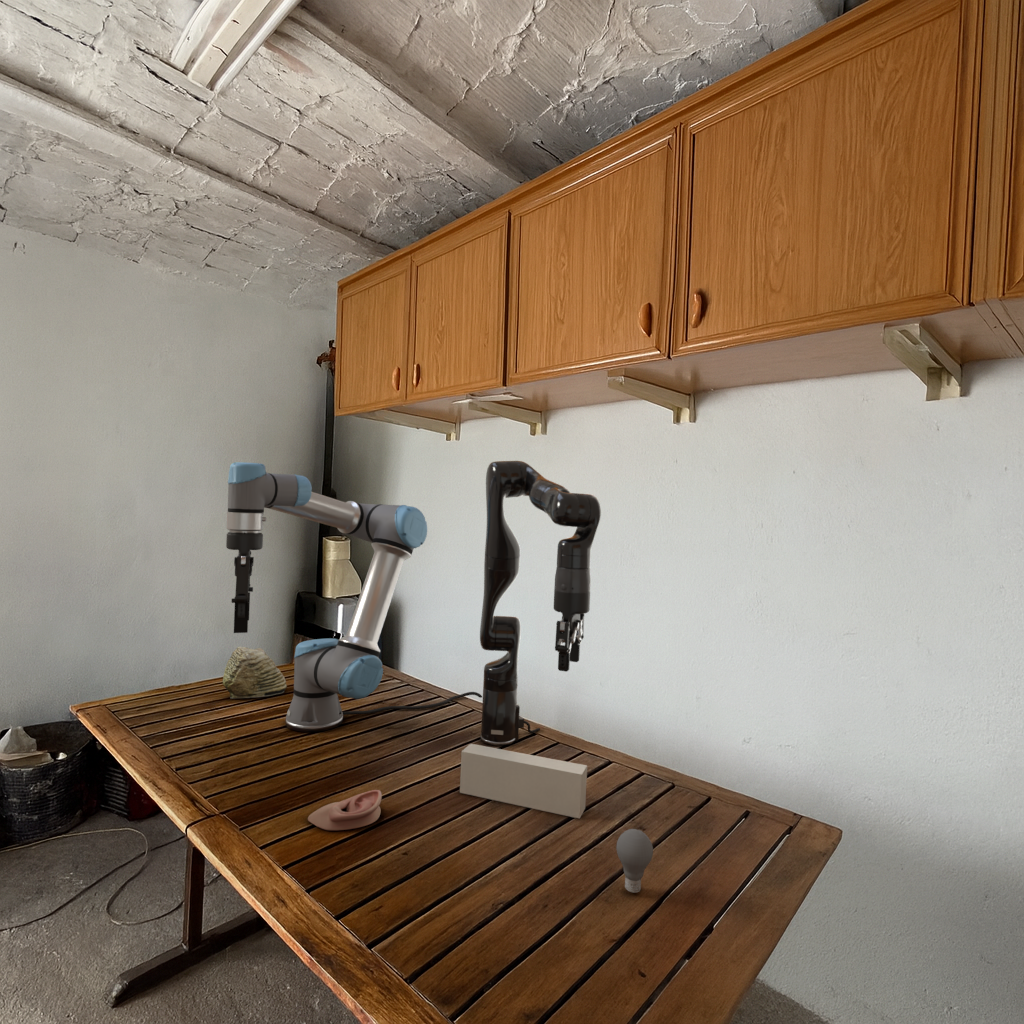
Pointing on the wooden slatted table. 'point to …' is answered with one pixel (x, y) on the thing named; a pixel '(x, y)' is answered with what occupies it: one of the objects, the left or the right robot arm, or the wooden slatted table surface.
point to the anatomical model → (349, 812)
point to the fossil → (252, 674)
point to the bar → (524, 780)
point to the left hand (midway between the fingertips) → (241, 626)
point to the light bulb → (634, 857)
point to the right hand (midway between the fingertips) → (568, 665)
